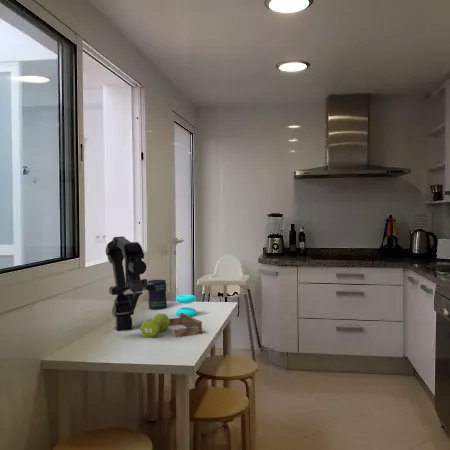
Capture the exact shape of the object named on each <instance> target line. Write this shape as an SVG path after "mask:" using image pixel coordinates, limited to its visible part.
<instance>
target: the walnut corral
mask: <svg viewBox="0 0 450 450" xmlns="http://www.w3.org/2000/svg"><path fill="white" fill-rule="evenodd" d="M169 320H170V324H169V326H168V327H171V326H180V325H181V326H183V328H175V329H174V337H175V338H179V337H178V336H181V337H187V336H194V335H200V334H201V335H202V334H203V322H202V321H201V320H198V319H196V318H195V317H193V316H191V317H190V316H188V315H186V314H184V313H180V317H174V318H169Z"/></svg>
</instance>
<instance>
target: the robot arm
mask: <svg viewBox="0 0 450 450" xmlns="http://www.w3.org/2000/svg"><path fill="white" fill-rule="evenodd" d="M105 254H106V256H107V261H109V263H110V264H111V265H112V271H113V276H114V284H115V286H110V287H109V289H108V292H109V295H112V296H115V295H116V296H115V298H114V301H113V302H114V303H113V305H112V306H113V307H112V311H111V313H112V316H113V317H114V318H115V326H114V329H115V330H117V331H118V332H120V331H127V330H132V329H133V317H132V316H133V315H134V313H135V309H136V306H137V303H138V300H139V298H140V296H141V295H143V294H144V292H143V291H145V290H147V291H148V292H149V291H156V285H155V284H152V283H148V279H147V278H143V279H141V275H143V274H144V273H145V272H146V271H147V264H146V262H145V261H143V260H142V259H145V253H144V250H143V247H142V245H141V244H140V243H139V242H138V241H130V240H129V239H127V238H126V237H125V236H114V237H113V238H112V240H111V241H110V242H108V243H107V245H106V246H105ZM123 261H124V264H123ZM124 270H125V271H124Z"/></svg>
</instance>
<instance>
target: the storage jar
mask: <svg viewBox="0 0 450 450" xmlns="http://www.w3.org/2000/svg"><path fill="white" fill-rule="evenodd" d="M147 282H148V283H152V284H155V285H156V291H148V309H149V310H151V311H159V310H165V309H167V307H168V306H167V295H166V294H167V283H166V282H167V280H166V279H152V280H147Z"/></svg>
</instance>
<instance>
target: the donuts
mask: <svg viewBox="0 0 450 450" xmlns="http://www.w3.org/2000/svg"><path fill="white" fill-rule="evenodd" d="M196 299H197V297H196V296H195V295H193V294H186V293H185V294H179V295H176V297H175V301H176V302H177V303H179V304H183V305H185V304H192V303H194V302H195V301H196ZM180 313H184V314H186V315H188V316H190V317H194V316H195V315H196V314H197V310H196V309H195V308H193V307H187V306H186V307H180V308H178V309H177V310H176V312H175V314H176V316H177V317H178V318H180Z"/></svg>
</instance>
